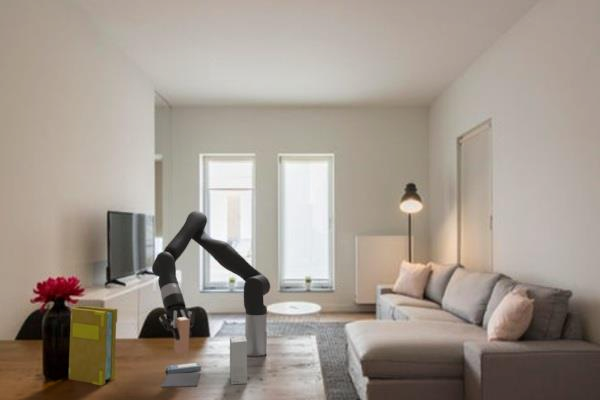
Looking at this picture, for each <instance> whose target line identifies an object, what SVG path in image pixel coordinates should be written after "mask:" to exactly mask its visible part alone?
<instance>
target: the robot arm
mask: <svg viewBox="0 0 600 400" xmlns="http://www.w3.org/2000/svg"><path fill="white" fill-rule="evenodd" d="M207 223H208V218H207V215H206V214H205V213H203V212H202V211H199V210H195V211H194V210H193V211H191V212H190V213H188V215H187V217H186V219H185V222H184V224H183V225H182V226H181V228H180V230H178V232H177V234H175V236H173V238H172V239H171V240H170V242H169V243H168V244H167V245H166V247H165V248H164V250H163V251H161V252H160V253H158V254H157V255H156V257H155V260H154V262H153V263H152V266H151V270H152V274H154V275H155V276H156V277H158V280H157V281H158V287H159V291H160V297H161V301H162V305H163V309H164V311H165V313H164V314H160V315H159V318H158V321H159V322H160V324H161V325H162V327H163V328H164V330H166V331H167V332H170V331H171V332H172V334H173V339H174V338H175V339H176V340H179V339H180V335H179V332H178V328H177V324H176V318H178V317H186V318H188V319H190V325H189V339H190V338H191V337H192V335H193V333H192V328H193V326H194V324H195V320H196V311H195V310H192V311H190V310H188V309H187V307H186V302H185V299H184V296H183V292H182V289H181V288H180V285H179V282H178V279H177V270H176V269H177V267H176V262H177V260H179V258H180V257H181V256H182V254H183V253H184V252H185V250H186V249H187V247H188V246H189V244H190V242H191V240H192V241H194V242H195V243H196V244H198V245H199V246H200V247H202V248H203V249H204V250H205V251H206V252H207V253H208V254H209V255H210V256H212V258H213V259H214V260H215V261H216V262H217V263H218V264H219V265H220V266H221V267H223V268H224V269H226V270H227V271H229V272H231V273H233V274H235V275H236V276H238V277H240V278H241V279H242V280H243V281H244V285H243V307H244V309H245V322H244V323H245V327H244V330H245V331H244V332H245V333H244V336H245V337H246V340H247V357H248V356H249V357H262V356H266V355H267V352H268V351H267V348H268V347H267V345H268V341H267V340H268V331H267V325H268V324H267V323H268V321H267V320H268V307H267V306H266V305H265V303H264V296H265V295H267V294H268V293H269V292H270V290H271V283H270V281H269V279H268V277H266V276H265V275H264V274H262V273H261V272H260V271H259V270H257V269H256V268H255V267H253V266H252V265H251V264H250V263H249V262H248V261H247V260H246V259H245V258H244V257H243V256H242V255H241V254H240V253H239V252H238V251H237V250H236V249H235V248H234V247H233V246H232V245H231V244H229V243H228V242H227V241H224V240H219V239H215V238H212V237H211V236H210V235H208V234H207V233H206V232H205V228H206V225H207ZM187 316H188V317H187ZM168 320H169V321H170V322H169V321H168ZM265 354H266V355H265ZM261 355H262V356H261Z"/></svg>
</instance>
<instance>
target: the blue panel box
mask: <svg viewBox="0 0 600 400" xmlns="http://www.w3.org/2000/svg"><path fill="white" fill-rule="evenodd" d="M166 371H167V374H176V373H191V372H198V371H202V365H201V364H200V362H199V361H197V362H189V363H180V364H179V363H178V364H170V365H167V366H166Z"/></svg>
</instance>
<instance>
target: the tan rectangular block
mask: <svg viewBox="0 0 600 400" xmlns="http://www.w3.org/2000/svg"><path fill="white" fill-rule="evenodd" d="M186 317H187V316H186ZM186 317H178V318H176V324H177V328H178V332H179V335H180V339H179V340H176V339H175V338H174V337H173V339H174V340H173V351H174V353H176V354H177V355H178V356H182V355H187V354H189V350H190V349H189V348H190V338H189V325H190V318H189V317H187V318H186Z"/></svg>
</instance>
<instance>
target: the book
mask: <svg viewBox="0 0 600 400" xmlns="http://www.w3.org/2000/svg"><path fill="white" fill-rule="evenodd" d="M118 310H119V309H118V308H112V307H108V308H107V307H98V306H91V305H90V306H89V305H88V306H87V305H77V306H72V307H71V308H70V325H69V327H70V331H69V351H68V352H69V354H68V355H69V356H68V379H69V380H72V381H76V382H83V383H87V384H88V383H89V384H92V385H95V386H96V385H97V386H104V385H106V381H113V380H115V379H116V367H117V366H116V338H117V337H116V336H117V323H118Z"/></svg>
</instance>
